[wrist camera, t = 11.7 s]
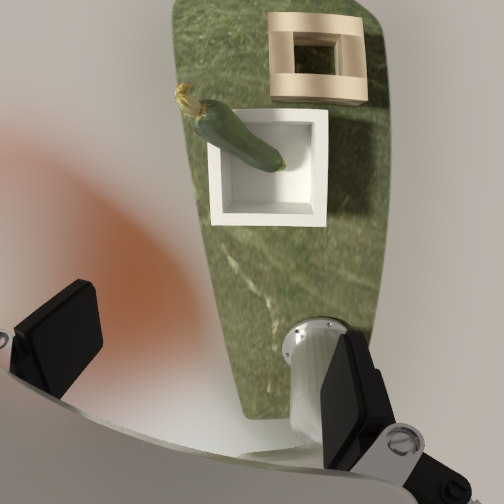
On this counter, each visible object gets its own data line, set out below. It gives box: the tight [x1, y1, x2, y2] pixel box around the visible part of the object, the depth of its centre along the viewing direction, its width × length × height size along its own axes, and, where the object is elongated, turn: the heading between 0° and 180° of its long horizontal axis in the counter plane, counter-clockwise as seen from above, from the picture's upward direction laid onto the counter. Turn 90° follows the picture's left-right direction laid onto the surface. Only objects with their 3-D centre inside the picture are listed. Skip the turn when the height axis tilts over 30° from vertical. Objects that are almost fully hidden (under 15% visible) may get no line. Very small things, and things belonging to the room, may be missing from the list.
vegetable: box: [175, 81, 286, 173], centre depth 32 cm, size 4×4×20 cm
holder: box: [268, 12, 368, 106], centre depth 32 cm, size 12×12×6 cm
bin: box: [207, 109, 328, 227], centre depth 37 cm, size 14×14×8 cm
